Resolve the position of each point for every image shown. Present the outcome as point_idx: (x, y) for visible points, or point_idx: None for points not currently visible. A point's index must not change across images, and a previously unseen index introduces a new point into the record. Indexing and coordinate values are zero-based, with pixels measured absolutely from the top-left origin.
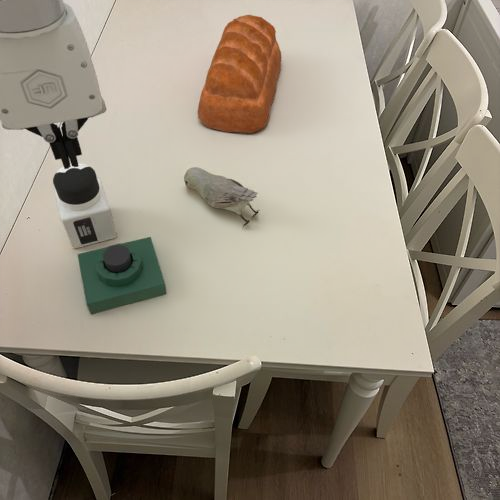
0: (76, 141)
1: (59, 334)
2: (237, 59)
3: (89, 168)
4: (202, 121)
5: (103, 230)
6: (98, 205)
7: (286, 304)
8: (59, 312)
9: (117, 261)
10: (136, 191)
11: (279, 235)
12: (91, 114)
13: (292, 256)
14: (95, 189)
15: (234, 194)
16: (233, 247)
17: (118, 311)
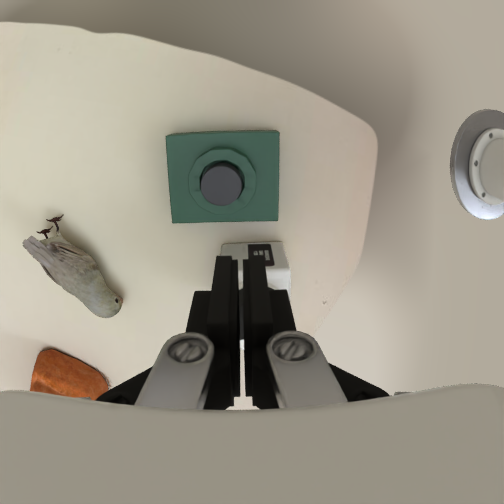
0: (192, 327)
1: (319, 115)
2: None
3: None
4: (103, 380)
5: (236, 252)
6: None
7: (42, 93)
8: (314, 147)
9: (221, 173)
10: (187, 310)
11: (29, 195)
12: (10, 395)
13: (22, 161)
14: None
15: (50, 254)
16: (77, 189)
17: (240, 123)
